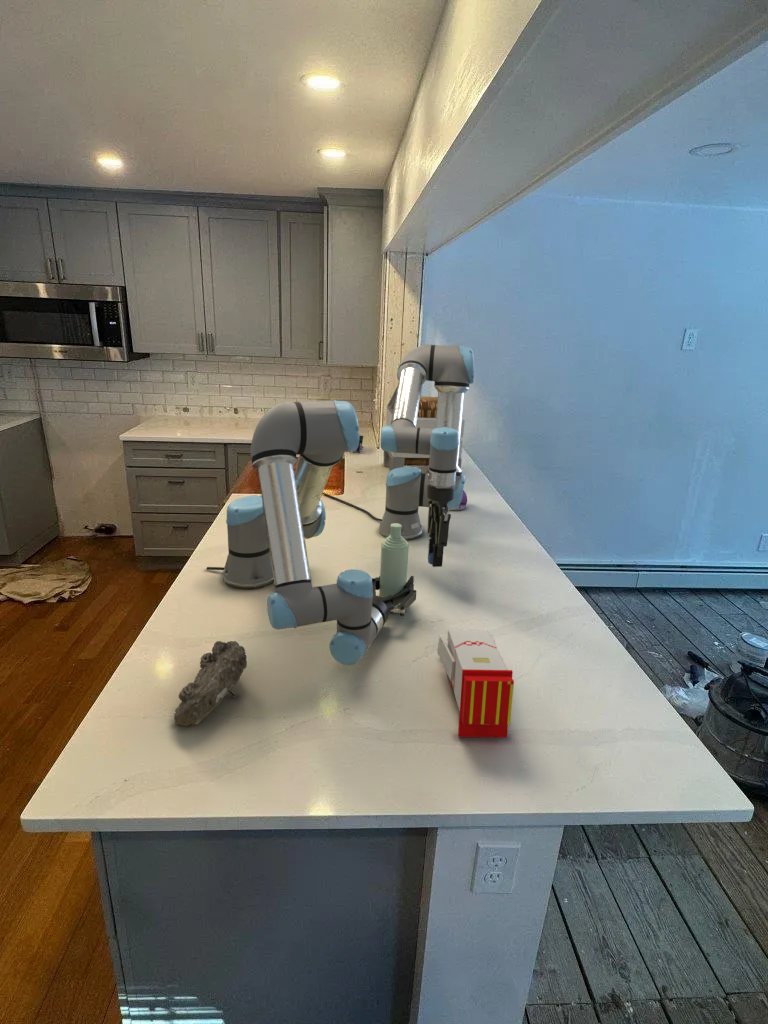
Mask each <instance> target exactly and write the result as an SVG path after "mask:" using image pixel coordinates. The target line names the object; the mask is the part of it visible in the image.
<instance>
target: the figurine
mask: <svg viewBox="0 0 768 1024" xmlns="http://www.w3.org/2000/svg"><path fill="white" fill-rule="evenodd" d="M462 475H463V474H462ZM462 475H461V476H462ZM467 495H468V494H467V493H466V491H465V490H464V489H463V494H462V498H461V502H460V505H459V507H458V508H456V509H449V510H450V511H460V510H461V511H462V510H464V509H466V508H467V503H468V496H467Z"/></svg>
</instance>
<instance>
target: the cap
mask: <svg viewBox="0 0 768 1024" xmlns="http://www.w3.org/2000/svg"><path fill="white" fill-rule="evenodd" d="M427 563H428V564H429V565H432V563H433V553H430V554H429V556H428V555H427Z"/></svg>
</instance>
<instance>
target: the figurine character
mask: <svg viewBox="0 0 768 1024" xmlns="http://www.w3.org/2000/svg"><path fill="white" fill-rule="evenodd" d="M363 441H364V435H360V434H359V446H358V448H357V450H356V451H352V453H355V452H358V454H360V453H361V451H362V450H363V448H364V446H363V443H364V442H363Z"/></svg>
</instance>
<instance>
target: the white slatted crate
mask: <svg viewBox="0 0 768 1024" xmlns="http://www.w3.org/2000/svg"><path fill="white" fill-rule="evenodd" d="M397 388H398V385H397V386H396V388H395V390H394V392H393V394H392V395H391V398H390V400H389V402H388V404H387V405H386V413H385V414H386V415H385V423H386V426H388V425H390V424H391V419H392V414H393V409H394V403H395V398H396V393H397ZM437 402H438V396H420V402H419V409H418V416H417V423H416V428H430V429H435V427H436V415H437ZM464 429H465V419H464V418H462V423H461V434H460V446H459V457H458V466H459V468H460V469H461V470H462V461H463V460H462V453H463V442H464V441H463V440H462V439H463V438H464V431H465V430H464ZM429 460H430V455H424V454H411V453H394V452H387V451H383V466H384V467H388V468H389V472H390V471H391V470H393V469H396V468H400V467H405V466H406V467H417V466H418V467H429Z"/></svg>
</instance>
